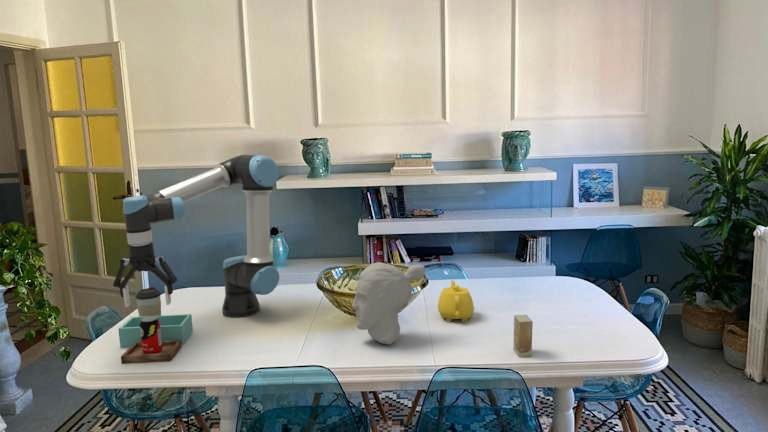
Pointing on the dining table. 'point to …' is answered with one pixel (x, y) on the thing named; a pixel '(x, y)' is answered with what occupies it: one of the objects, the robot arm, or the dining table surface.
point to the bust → (383, 299)
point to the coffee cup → (149, 302)
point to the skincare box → (523, 335)
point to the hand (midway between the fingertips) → (148, 304)
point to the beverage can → (150, 335)
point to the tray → (138, 356)
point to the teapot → (455, 303)
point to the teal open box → (169, 327)
